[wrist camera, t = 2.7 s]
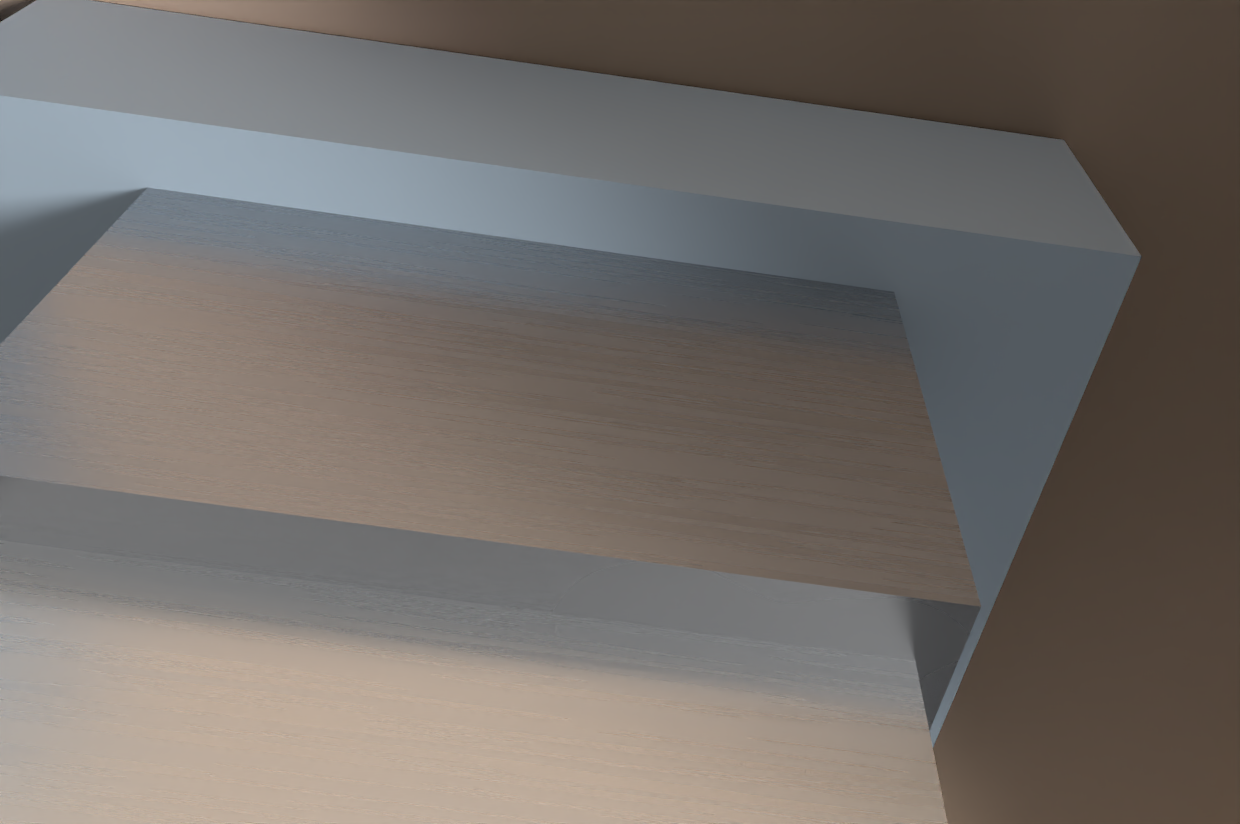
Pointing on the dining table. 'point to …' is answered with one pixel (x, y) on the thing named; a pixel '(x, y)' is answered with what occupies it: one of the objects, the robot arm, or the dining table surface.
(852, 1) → the dining table surface
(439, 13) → the dining table surface
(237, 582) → the housing
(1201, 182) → the dining table surface
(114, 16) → the stand
